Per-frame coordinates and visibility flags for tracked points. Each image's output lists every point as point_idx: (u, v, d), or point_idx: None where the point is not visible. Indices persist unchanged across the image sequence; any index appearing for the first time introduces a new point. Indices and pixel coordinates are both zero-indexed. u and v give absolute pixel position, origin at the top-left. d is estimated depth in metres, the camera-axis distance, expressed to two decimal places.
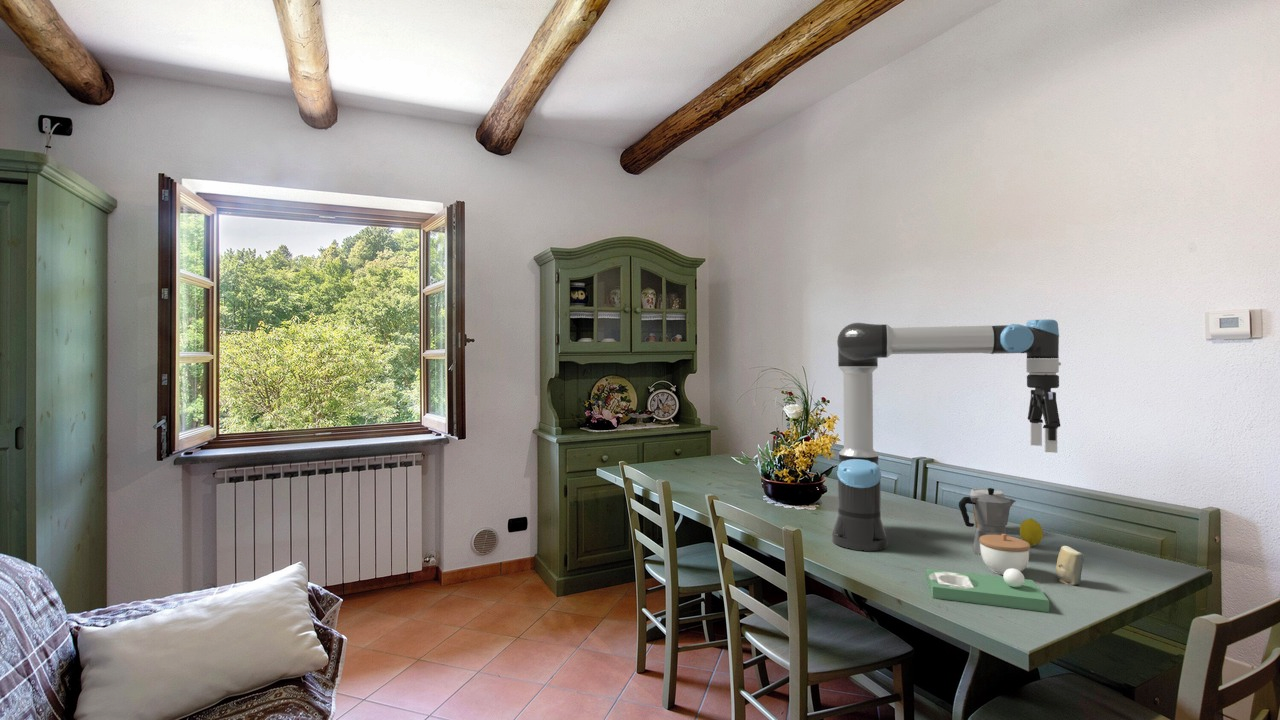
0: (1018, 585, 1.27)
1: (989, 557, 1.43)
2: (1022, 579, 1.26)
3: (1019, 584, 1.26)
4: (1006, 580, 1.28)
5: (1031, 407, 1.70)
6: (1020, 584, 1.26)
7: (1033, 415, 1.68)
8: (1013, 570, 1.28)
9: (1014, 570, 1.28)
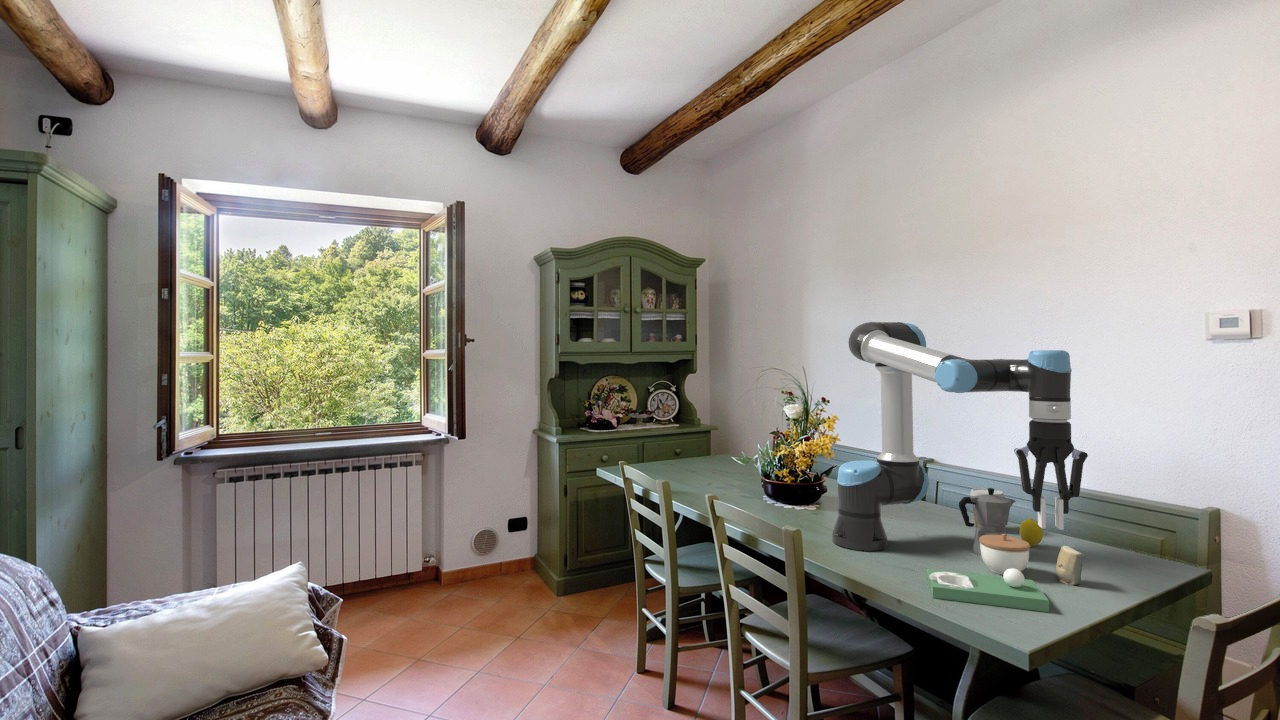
0: (1018, 585, 1.27)
1: (989, 557, 1.43)
2: (1022, 579, 1.26)
3: (1019, 584, 1.26)
4: (1006, 580, 1.28)
5: (1071, 473, 1.25)
6: (1020, 584, 1.26)
7: (1057, 482, 1.26)
8: (1013, 570, 1.28)
9: (1014, 570, 1.28)
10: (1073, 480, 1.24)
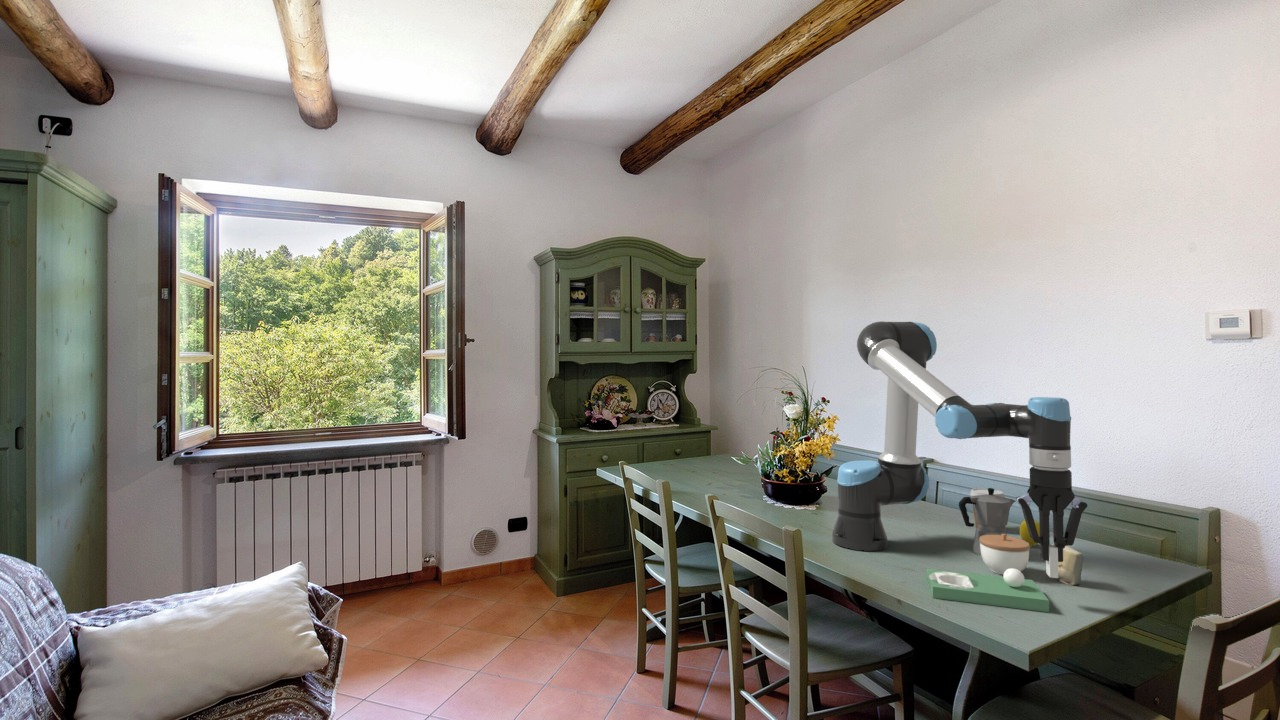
0: (1018, 585, 1.27)
1: (989, 557, 1.43)
2: (1022, 579, 1.26)
3: (1019, 584, 1.26)
4: (1006, 580, 1.28)
5: (1068, 521, 1.25)
6: (1020, 584, 1.26)
7: (1053, 529, 1.26)
8: (1013, 570, 1.28)
9: (1014, 570, 1.28)
10: (1069, 528, 1.24)
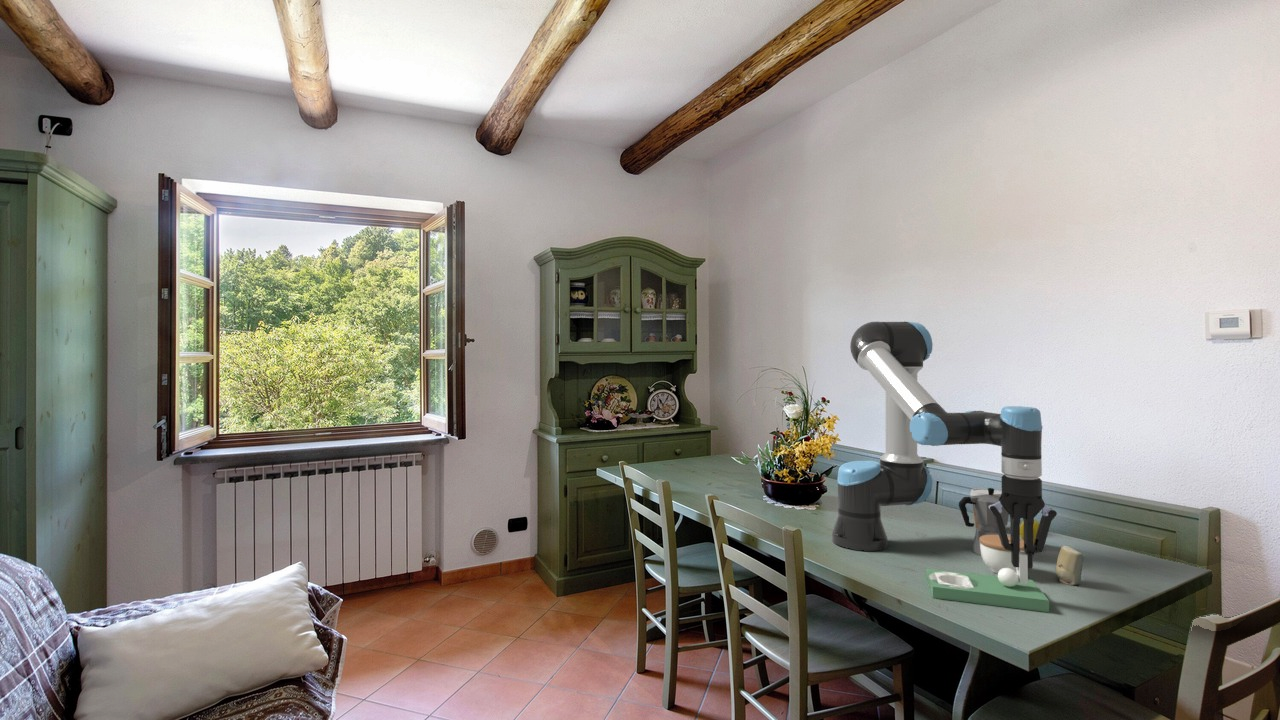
0: (1015, 583, 1.27)
1: (989, 557, 1.43)
2: (1015, 576, 1.27)
3: (1015, 582, 1.27)
4: (1003, 583, 1.28)
5: (1038, 529, 1.28)
6: (1016, 581, 1.27)
7: (1024, 536, 1.29)
8: (1003, 571, 1.28)
9: (1004, 570, 1.28)
10: (1039, 536, 1.26)
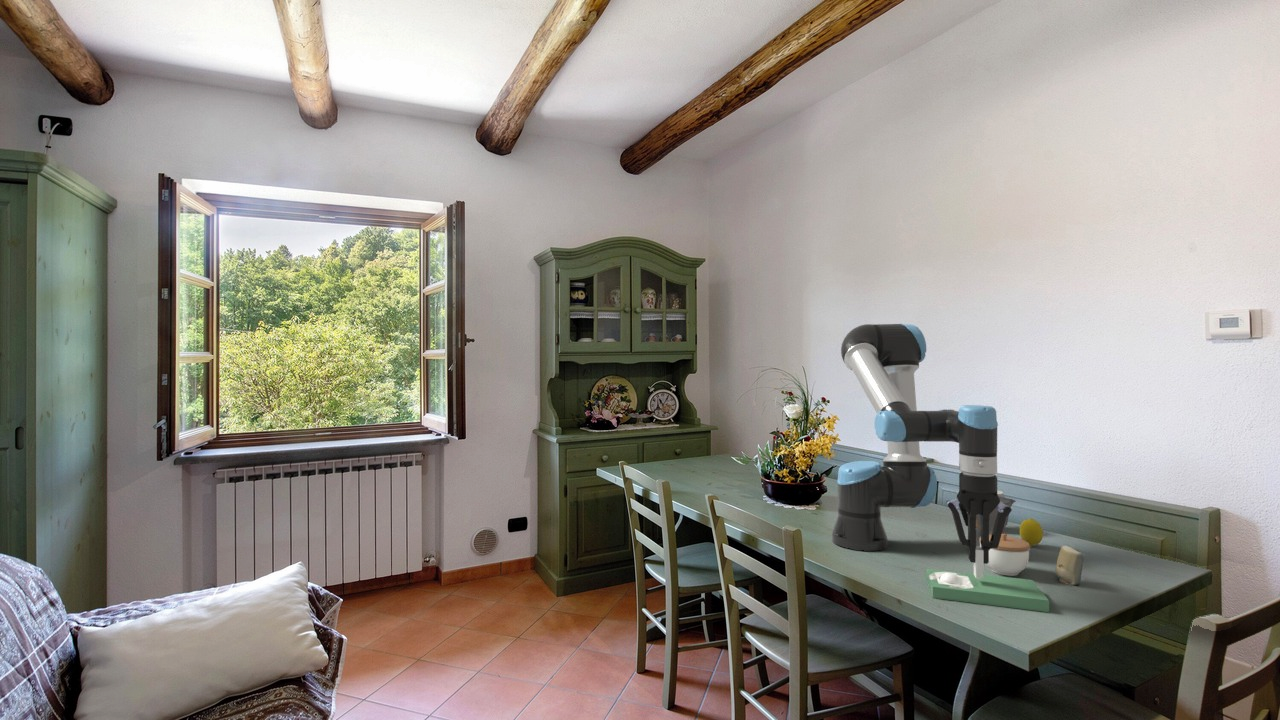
0: None
1: (989, 557, 1.43)
2: (956, 583, 1.31)
3: None
4: None
5: (994, 525, 1.30)
6: None
7: None
8: (947, 574, 1.32)
9: (949, 574, 1.32)
10: (995, 532, 1.29)
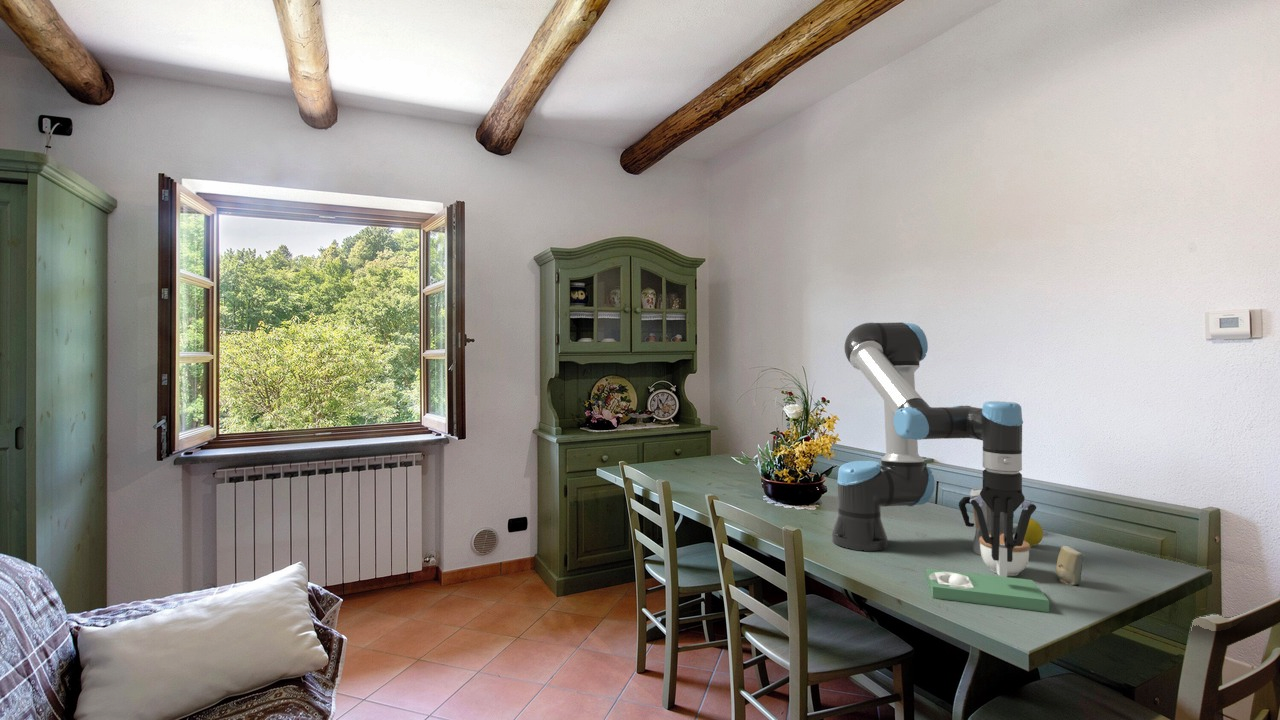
0: None
1: (989, 557, 1.43)
2: None
3: None
4: (951, 579, 1.32)
5: (1018, 523, 1.29)
6: None
7: (1004, 530, 1.30)
8: (964, 578, 1.31)
9: (965, 578, 1.31)
10: (1019, 529, 1.27)
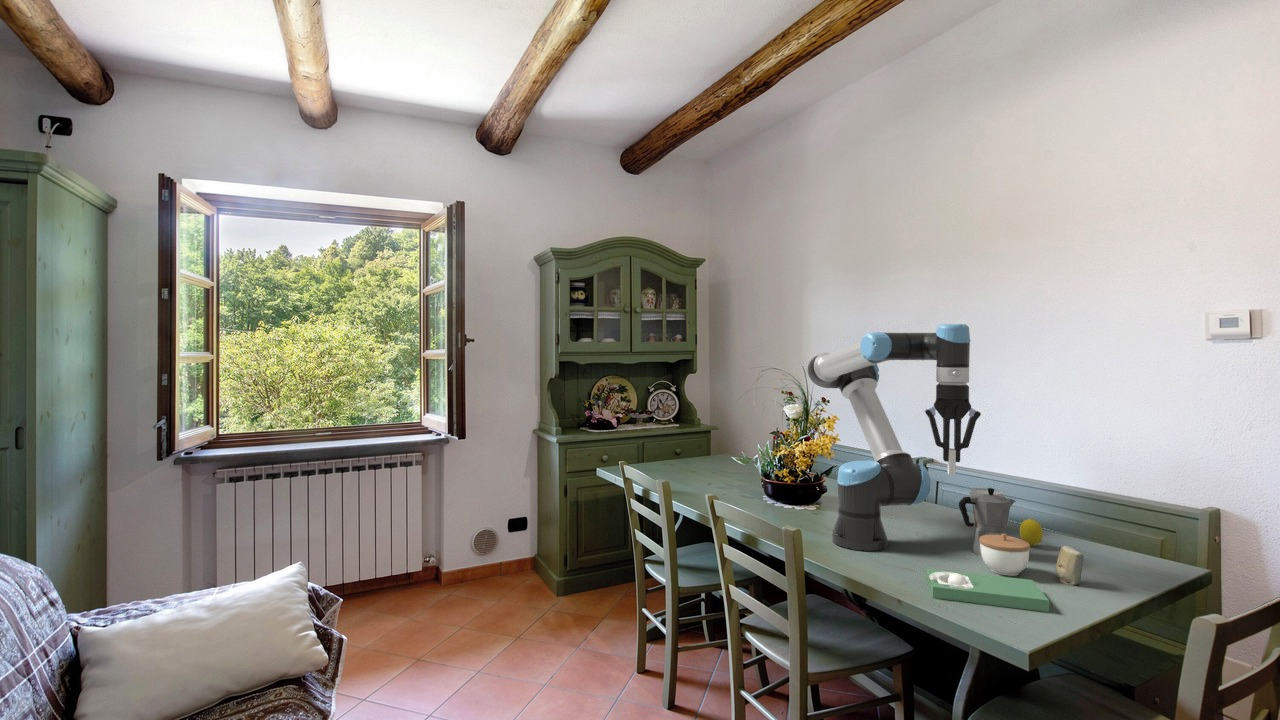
0: None
1: (989, 557, 1.43)
2: None
3: None
4: (950, 580, 1.32)
5: (966, 429, 1.49)
6: None
7: (954, 435, 1.50)
8: (962, 577, 1.31)
9: (963, 578, 1.31)
10: (966, 434, 1.47)
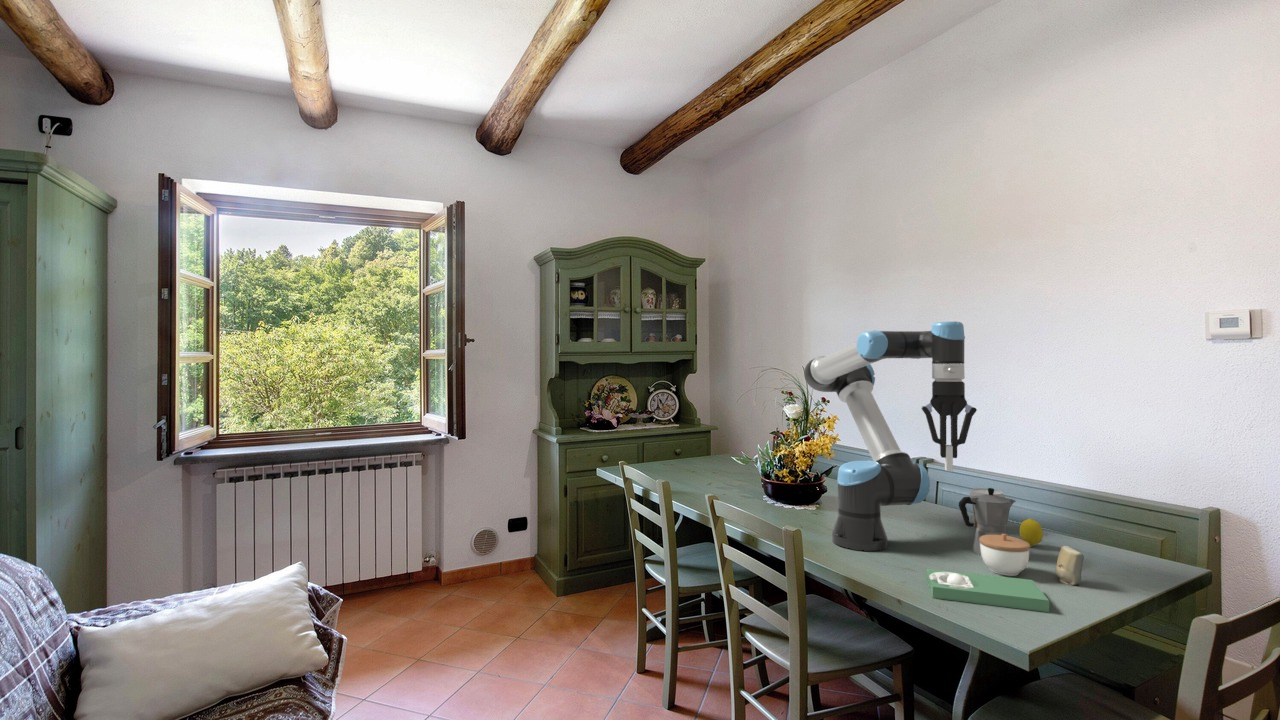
0: None
1: (989, 557, 1.43)
2: None
3: None
4: (949, 580, 1.32)
5: (962, 425, 1.50)
6: None
7: None
8: (961, 577, 1.31)
9: (962, 577, 1.31)
10: (962, 430, 1.49)
